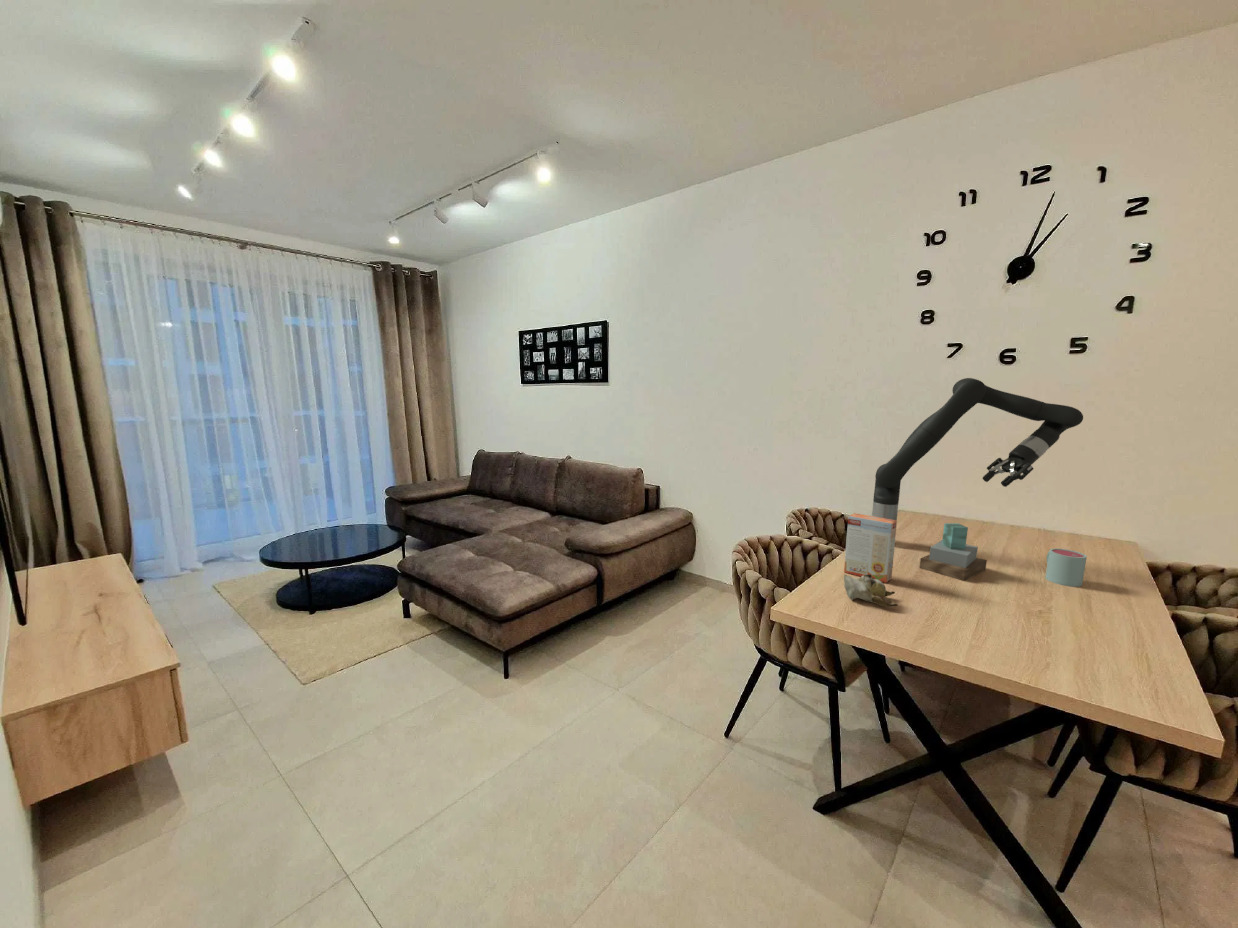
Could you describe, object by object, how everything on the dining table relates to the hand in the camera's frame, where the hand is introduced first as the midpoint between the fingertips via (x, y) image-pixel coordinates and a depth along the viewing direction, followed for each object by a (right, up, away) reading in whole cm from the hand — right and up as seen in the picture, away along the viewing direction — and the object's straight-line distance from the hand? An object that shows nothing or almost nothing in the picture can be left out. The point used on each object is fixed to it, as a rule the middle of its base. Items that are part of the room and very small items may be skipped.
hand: (993, 482), depth 176 cm
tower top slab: (-16, -27, -2) cm, 32 cm away
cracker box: (-50, -32, -7) cm, 60 cm away
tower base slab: (-16, -32, -1) cm, 36 cm away
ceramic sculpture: (-59, -36, -27) cm, 74 cm away
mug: (+15, -33, -9) cm, 37 cm away
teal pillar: (-16, -23, -2) cm, 28 cm away
